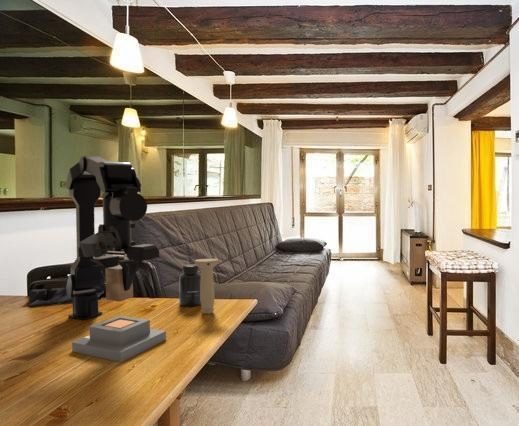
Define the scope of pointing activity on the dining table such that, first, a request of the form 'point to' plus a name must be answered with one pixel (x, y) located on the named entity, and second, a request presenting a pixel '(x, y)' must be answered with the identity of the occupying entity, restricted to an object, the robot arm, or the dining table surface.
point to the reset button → (120, 324)
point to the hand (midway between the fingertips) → (119, 289)
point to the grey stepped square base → (119, 339)
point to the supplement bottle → (189, 286)
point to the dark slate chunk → (50, 296)
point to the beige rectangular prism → (116, 285)
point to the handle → (207, 284)
